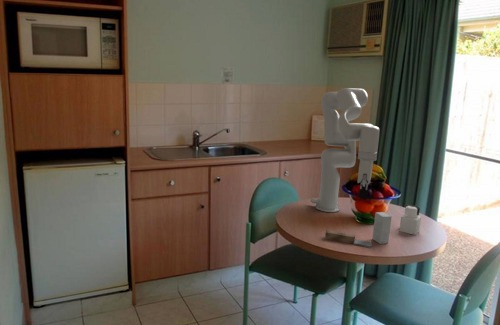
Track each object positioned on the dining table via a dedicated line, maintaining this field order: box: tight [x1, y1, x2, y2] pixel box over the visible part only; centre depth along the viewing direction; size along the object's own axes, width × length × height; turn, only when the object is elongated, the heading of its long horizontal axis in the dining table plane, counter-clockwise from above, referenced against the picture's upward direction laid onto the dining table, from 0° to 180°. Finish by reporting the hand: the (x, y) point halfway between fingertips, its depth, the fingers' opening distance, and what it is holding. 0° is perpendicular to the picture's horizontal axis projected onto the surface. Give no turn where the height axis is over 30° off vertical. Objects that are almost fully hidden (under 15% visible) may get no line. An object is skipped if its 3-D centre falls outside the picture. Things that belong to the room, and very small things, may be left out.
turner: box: [324, 230, 373, 249], centre depth 178 cm, size 19×5×3 cm, turn 71°
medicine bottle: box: [399, 204, 422, 236], centre depth 193 cm, size 7×7×12 cm
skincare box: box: [372, 211, 392, 245], centre depth 179 cm, size 6×4×12 cm
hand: (363, 195), depth 179 cm, fingers open, 9 cm apart
